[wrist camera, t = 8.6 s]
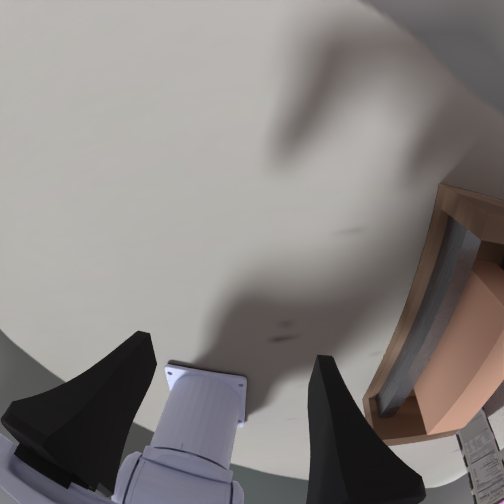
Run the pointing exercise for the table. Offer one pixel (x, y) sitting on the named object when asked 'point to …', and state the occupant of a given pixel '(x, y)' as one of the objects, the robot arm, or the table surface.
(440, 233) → the track base
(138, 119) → the table surface
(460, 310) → the salmon orange block
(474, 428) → the candy bar box
